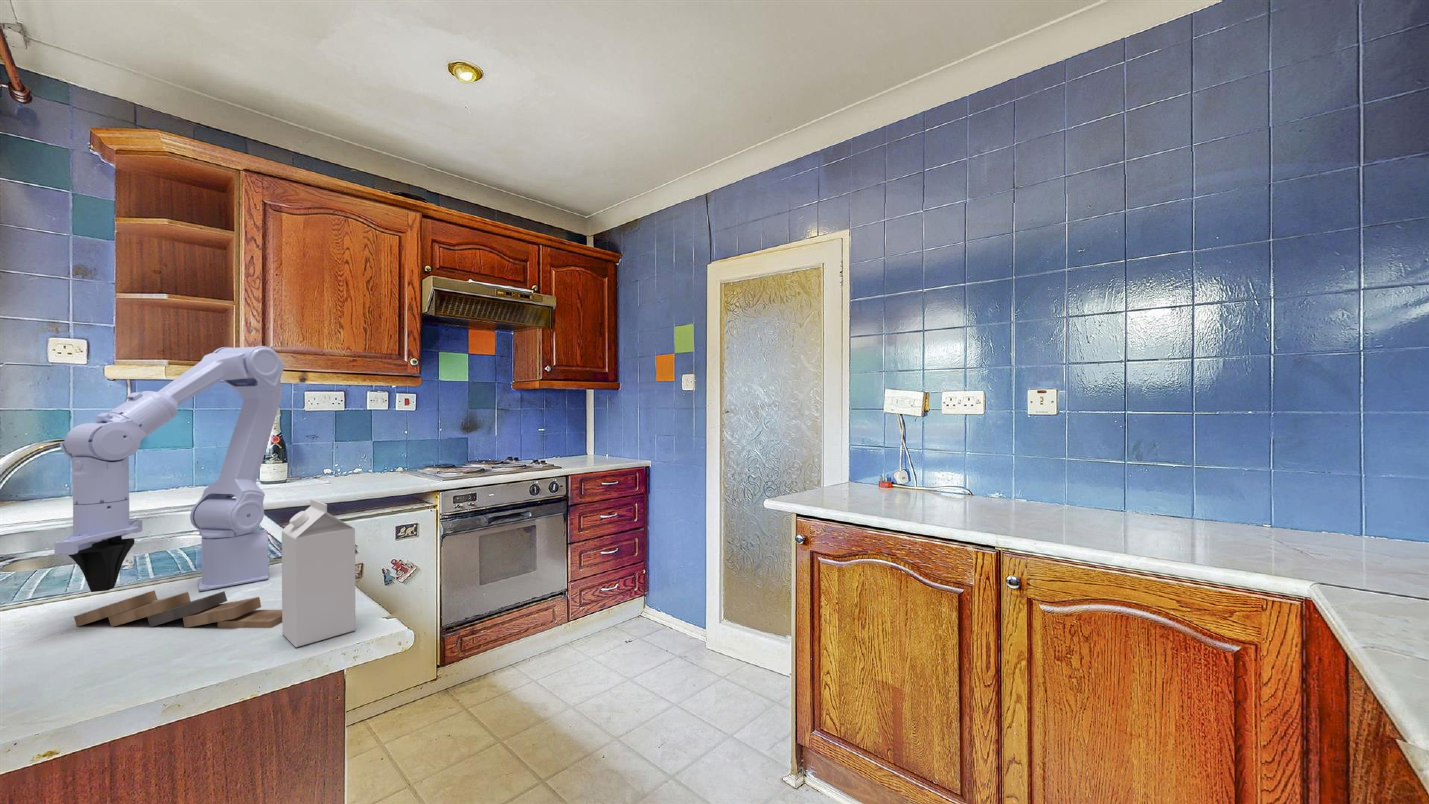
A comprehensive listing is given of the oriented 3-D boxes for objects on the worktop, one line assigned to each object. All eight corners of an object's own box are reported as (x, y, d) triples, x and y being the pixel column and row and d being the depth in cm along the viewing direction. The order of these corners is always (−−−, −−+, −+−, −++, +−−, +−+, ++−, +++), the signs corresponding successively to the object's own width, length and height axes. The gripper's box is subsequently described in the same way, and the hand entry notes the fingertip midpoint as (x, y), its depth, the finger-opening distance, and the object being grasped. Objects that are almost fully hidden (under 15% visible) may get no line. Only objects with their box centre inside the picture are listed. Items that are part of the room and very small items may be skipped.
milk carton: (339, 619, 83) (338, 495, 83) (356, 631, 79) (355, 500, 79) (281, 634, 78) (280, 502, 78) (295, 649, 73) (294, 508, 73)
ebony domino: (177, 605, 85) (224, 591, 84) (180, 615, 85) (227, 600, 84) (147, 616, 80) (196, 601, 80) (150, 627, 80) (199, 612, 80)
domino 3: (212, 605, 84) (259, 596, 84) (214, 615, 84) (261, 606, 84) (182, 617, 80) (232, 607, 80) (184, 627, 80) (234, 618, 80)
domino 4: (243, 609, 85) (294, 609, 84) (244, 619, 85) (294, 620, 84) (217, 621, 80) (270, 621, 80) (217, 631, 80) (271, 632, 80)
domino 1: (107, 605, 85) (154, 590, 85) (110, 615, 85) (157, 600, 85) (73, 616, 81) (123, 600, 80) (76, 626, 81) (126, 611, 80)
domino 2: (140, 605, 85) (187, 591, 85) (143, 615, 85) (190, 601, 85) (108, 616, 80) (158, 602, 80) (111, 627, 80) (161, 612, 80)
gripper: (100, 508, 77) (101, 603, 77) (165, 492, 91) (166, 572, 91) (33, 511, 75) (34, 609, 75) (110, 494, 89) (111, 577, 89)
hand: (102, 589), depth 83 cm, fingers closed
